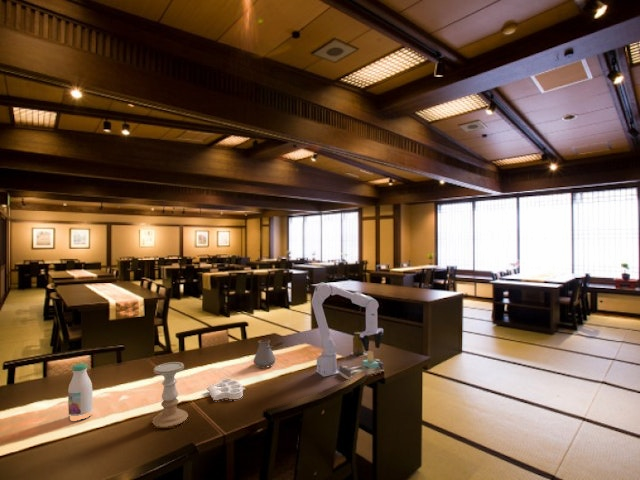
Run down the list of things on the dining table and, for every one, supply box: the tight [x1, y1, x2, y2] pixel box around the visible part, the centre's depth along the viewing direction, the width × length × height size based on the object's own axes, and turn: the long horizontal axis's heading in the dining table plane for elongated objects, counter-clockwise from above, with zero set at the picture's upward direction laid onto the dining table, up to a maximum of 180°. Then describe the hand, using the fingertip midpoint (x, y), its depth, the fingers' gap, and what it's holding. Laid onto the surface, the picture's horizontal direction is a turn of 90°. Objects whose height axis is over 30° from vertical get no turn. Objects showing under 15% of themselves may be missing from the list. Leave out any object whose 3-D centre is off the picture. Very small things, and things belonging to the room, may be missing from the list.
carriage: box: [361, 350, 379, 369], centre depth 180 cm, size 5×7×7 cm
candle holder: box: [151, 361, 189, 427], centre depth 134 cm, size 12×12×20 cm
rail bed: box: [338, 358, 385, 380], centre depth 177 cm, size 21×9×5 cm, turn 117°
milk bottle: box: [67, 362, 94, 416], centre depth 138 cm, size 8×8×20 cm
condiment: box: [349, 331, 367, 358], centre depth 206 cm, size 7×8×12 cm
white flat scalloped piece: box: [206, 377, 247, 401], centre depth 158 cm, size 3×18×15 cm
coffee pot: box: [253, 339, 287, 368], centre depth 188 cm, size 21×12×15 cm, turn 49°
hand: (371, 349), depth 182 cm, fingers open, 7 cm apart
